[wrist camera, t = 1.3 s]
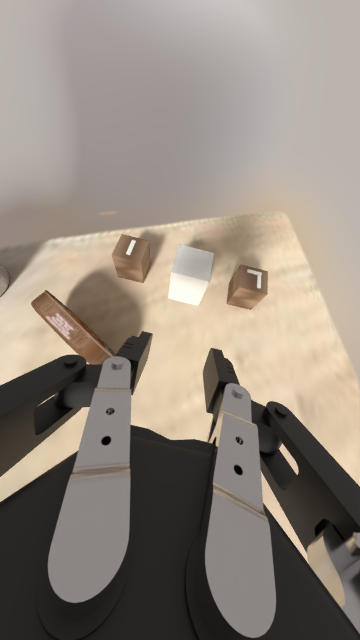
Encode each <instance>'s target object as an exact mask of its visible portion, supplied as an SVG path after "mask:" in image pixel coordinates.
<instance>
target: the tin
mask: <svg viewBox="0 0 360 640" xmlns="http://www.w3.org/2000/svg"><path fill="white" fill-rule="evenodd" d="M31 305H32V307H33V308H34V309H35V311H36V312H37V313H38V314H39V315H40V316H41V317H42V318H43V319H44V320H45V321H46V322H47V323H48V324H49V325H50V326H51V327H52V329H54V331H55V332H56V333H57V334H58V335H59V336H60V337H61V338H62V339H63V340H64V341H65V342H66V343H67V344H68V345H69V346H70V347H71V348H72V349H73V350H74V351H75V352H77V353H78V354H79V355H80V356H82V357H84V358H85V359H86V361H87V362H88V363H89V364H93V365H98V364H103V363H104V361H105V360H106V359H108V358H110V357H115V355H116V354H115V353H114V352H113V351H112V350H111V349H110V348H109V347H108V346H107V345H106V344H105V343H104V342H103V341H102V340H101V339H100V338H99V337H97V336H96V335H95V334H94V333H93V332H92V331H91V330H90V329H89V328H88V327H87V326H86V325H85V324H84V323H83V322H82V321H81V320H80V319H79V318H78V317H77V316H76V315H75V314H74V313H73V312H71V311H70V310H69V309H68V308H67V307H66V306H65V305H63V304H62V303H61V302H60V301H59V300H58V299H56V298H55V297H54V296H53V295H52V294H51V293H49V292H48V291H47V290H45V292H44V293H42V294H41V295H40V296H38V297H37V298H36V299H34V300H33V301H32V303H31Z"/></svg>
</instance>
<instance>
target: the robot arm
mask: <svg viewBox="0 0 360 640" xmlns="http://www.w3.org/2000/svg"><path fill="white" fill-rule="evenodd" d="M8 284H9V275H8V272H7V271H6V270H5V269H4V268H3V267H2V266H1V265H0V296H1V295H2V294H3V293H4V292H5V290H6V288H7V287H8ZM152 335H153V334H152V333H148V332H144V331H142V332H141V334H140V336H139V337H135V336H132V337H130V338H128V339H127V340H126V342H125V343H124V344H123V346H122V347H121V349H120V350H119V351H118V353H117V354H116V355H115V357H110V358H108V359H106V360H105V361H104V363H103V364H98V365H93V364H86V359H85V358H84V357H82V356H79V355H65V356H62V357H60V358H58V359H55V360H53V361H51V362H49V363H47V364H45V365H43V366H41V367H39V368H36V369H34V370H32V371H30V372H28V373H26V374H24V375H22V376H20V377H17V378H15V379H13V380H11V381H9V382H7V383H5V384H3V385H1V386H0V477H1V476H2V475H3V474H4V473H6V472H7V471H8V470H9V469H10V468H12V467H13V466H14V465H15V464H16V463H18V462H19V461H20V460H21V459H22V458H24V457H25V456H26V455H27V454H28V453H30V452H31V451H32V450H33V449H34V448H35V447H37V446H38V445H39V444H40V443H41V442H43V441H44V440H45V439H46V438H47V437H49V436H50V435H51V434H52V433H53V432H55V431H56V430H57V429H58V428H59V427H60V426H62V425H63V424H64V423H65V422H66V421H68V420H69V419H70V418H71V417H72V416H74V415H75V414H76V413H77V412H78V411H79V410H81V408H82V407H90V409H89V413H88V417H87V420H86V424H85V428H84V432H83V435H82V439H81V443H80V447H79V450H78V451H77V452H75V453H74V454H72V455H71V456H69V457H68V458H66V459H65V460H63V461H62V462H60V463H59V464H57V465H56V466H54V467H53V468H51V469H50V470H48V471H47V472H45V473H44V474H42V475H41V476H39V477H38V478H36V479H35V480H33V481H32V482H30V483H29V484H27V485H26V486H24V487H22V488H21V489H19V490H18V491H16V492H15V493H13V494H12V495H10V496H9V497H7V498H6V499H4V500H3V501H1V502H0V640H360V487H359V485H358V484H357V483H356V482H355V481H354V480H353V479H352V478H351V477H350V476H349V474H348V473H347V472H346V471H345V470H344V469H343V468H342V467H341V466H340V465H339V464H338V462H337V461H336V460H335V459H334V458H333V457H332V456H331V455H330V454H329V453H328V451H327V450H326V449H325V448H324V447H323V446H322V445H321V444H320V443H319V442H318V441H317V439H316V438H315V437H314V436H313V435H312V434H311V433H310V432H309V431H308V430H307V429H306V427H305V426H304V425H303V424H302V423H301V422H300V421H299V420H298V419H297V418H296V416H295V415H294V414H293V413H292V412H291V411H290V410H289V409H288V408H286V407H285V406H283V405H282V404H280V403H277V402H273V401H271V402H268V403H267V405H266V407H265V406H263V405H261V404H259V403H256V402H254V401H252V400H251V396H250V394H249V392H248V391H247V390H246V389H245V388H243V387H242V386H240V384H239V382H238V379H237V376H236V374H235V371H234V368H233V365H232V363H231V362H230V361H229V360H228V359H226V358H224V356H223V353H222V350H218V349H214V348H211V349H210V351H209V354H208V357H207V360H206V363H205V366H204V370H203V380H204V390H205V400H206V411H207V413H212V414H213V418H212V421H211V424H210V428H209V433H208V437H207V441H206V442H204V441H200V440H195V439H191V440H169V439H167V438H165V437H163V436H161V435H159V434H157V433H155V432H153V431H151V430H149V429H146V428H142V427H137V426H133V425H130V422H131V395H133V393H134V391H135V388H136V386H137V383H138V381H139V379H140V376H141V374H142V371H143V369H144V366H145V364H146V361H147V358H148V355H149V350H150V345H151V340H152ZM54 394H55V396H53V395H54ZM51 396H53V397H52V398H50V399H49V400H47V401H46V402H44V403H42V402H43V401H45V400H46V399H48V398H49V397H51ZM41 403H42V404H41ZM40 404H41V405H40ZM282 443H283V444H284V446H285V447H286V449H287V450H288V451H289V453H290V454H291V455H292V457H293V458H294V459H295V461H296V463H297V465H298V469H299V473H298V475H296V473H295V472H294V470H293V469H292V467H291V466H290V465H289V463H288V462H287V460H286V459H285V457H284V456H283V454H282V453H281V452H280V450H279V448H280V446H281V445H282ZM261 472H262V473H263V475H264V477H265V479H266V481H267V482H268V484H269V486H270V488H271V490H272V491H273V493H274V495H275V497H276V499H277V500H278V502H279V504H280V506H281V508H282V509H283V511H284V513H285V515H286V517H287V518H288V520H289V522H290V524H291V526H292V527H293V529H294V531H295V533H296V535H297V536H298V538H299V540H300V542H301V544H302V545H303V547H304V549H305V551H306V553H307V556H308V561H309V564H308V563H307V561H306V560H305V559H304V557H303V556H302V555H301V553H300V552H299V550H298V549H297V548H296V546H295V545H294V544H293V542H292V541H291V540H290V538H289V537H288V536H287V534H286V533H285V532H284V530H283V529H282V528H281V526H280V525H279V523H278V522H277V521H276V519H275V518H274V517H273V515H272V514H271V513H270V511H269V510H268V509H267V507H266V506H265V505H264V503H263V498H262V483H261Z"/></svg>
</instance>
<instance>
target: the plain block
mask: <svg viewBox="0 0 360 640" xmlns="http://www.w3.org/2000/svg"><path fill="white" fill-rule="evenodd" d="M213 258H214V253H212V252H208V251H204V250H200V249H196V248H193V247H189V246H185V245H181V244H179V248H178V251H177V255H176V258H175V262H174V265H173V269H172V272H171V280H170V288H169V296H168V298H169V299H173V300H177V301H181V302H185V303H189V304H193V305H197V306H198V305H199V303H200V301H201V299H202V297H203V294H204V292H205V290H206V288H207V286H208V284H209V281H210V275H211V269H212V263H213Z"/></svg>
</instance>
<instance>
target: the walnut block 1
mask: <svg viewBox="0 0 360 640" xmlns="http://www.w3.org/2000/svg"><path fill="white" fill-rule="evenodd" d="M112 258H113V261H114V264H115V268H116V271H117V274H118V277H121V278H125V279H129V280H133V281H137V282H141V283H143V282H144V280H145V277H146V274H147V271H148V268H149V266H150V245H149V241H147V240H143V239H139V238H135V237H131V236H127V235H123V234H122V235H121V237H120V239H119V241H118V243H117V245H116V247H115V249H114V251H113V253H112Z"/></svg>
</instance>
